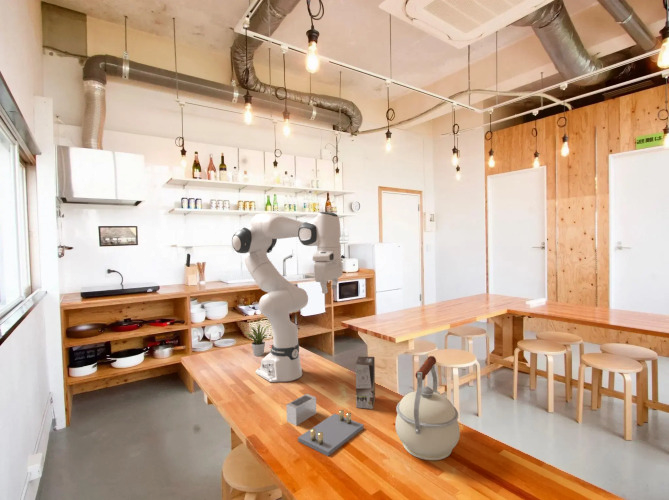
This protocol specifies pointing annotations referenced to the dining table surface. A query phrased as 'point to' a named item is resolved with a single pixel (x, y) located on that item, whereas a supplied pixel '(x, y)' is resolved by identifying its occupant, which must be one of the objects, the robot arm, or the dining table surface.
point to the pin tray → (331, 433)
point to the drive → (301, 409)
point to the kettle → (427, 419)
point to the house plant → (258, 341)
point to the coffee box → (365, 382)
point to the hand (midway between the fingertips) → (329, 291)
